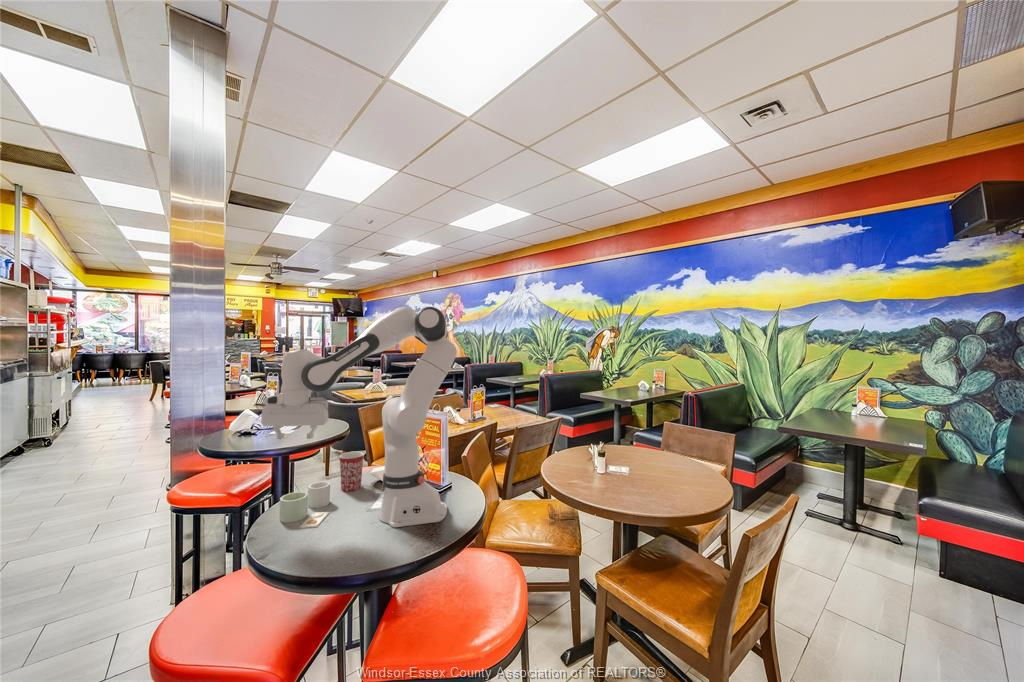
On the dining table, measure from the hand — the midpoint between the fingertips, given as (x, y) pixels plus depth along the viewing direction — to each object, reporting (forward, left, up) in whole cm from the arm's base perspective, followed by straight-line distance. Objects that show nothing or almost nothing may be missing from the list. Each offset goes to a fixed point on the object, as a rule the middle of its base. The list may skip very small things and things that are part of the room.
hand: (295, 438), depth 124 cm
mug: (-11, -25, -26) cm, 38 cm away
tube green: (0, +1, -26) cm, 26 cm away
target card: (-8, +4, -26) cm, 27 cm away
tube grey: (-4, -9, -26) cm, 28 cm away
